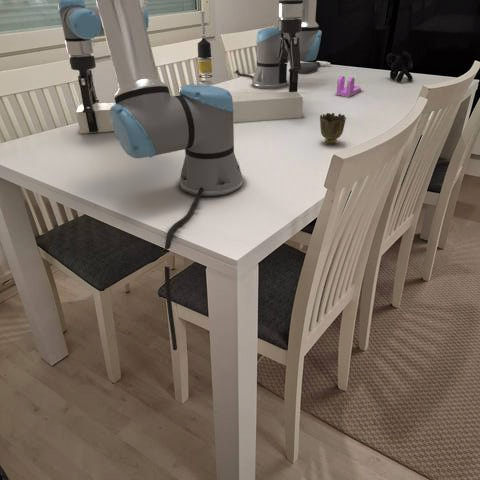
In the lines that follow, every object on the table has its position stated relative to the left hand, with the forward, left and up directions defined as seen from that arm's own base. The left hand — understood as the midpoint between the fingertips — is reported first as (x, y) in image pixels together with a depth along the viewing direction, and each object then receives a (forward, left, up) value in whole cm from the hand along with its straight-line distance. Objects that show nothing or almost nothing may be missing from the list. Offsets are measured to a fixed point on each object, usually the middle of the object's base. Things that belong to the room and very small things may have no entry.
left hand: (95, 127), depth 149 cm
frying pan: (+113, -49, 0) cm, 123 cm away
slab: (+17, -29, 0) cm, 33 cm away
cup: (+9, -77, 0) cm, 78 cm away
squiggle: (+99, -92, 0) cm, 135 cm away
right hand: (+33, -57, +9) cm, 67 cm away
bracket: (+71, -74, 0) cm, 102 cm away
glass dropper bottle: (+57, -16, 0) cm, 59 cm away
